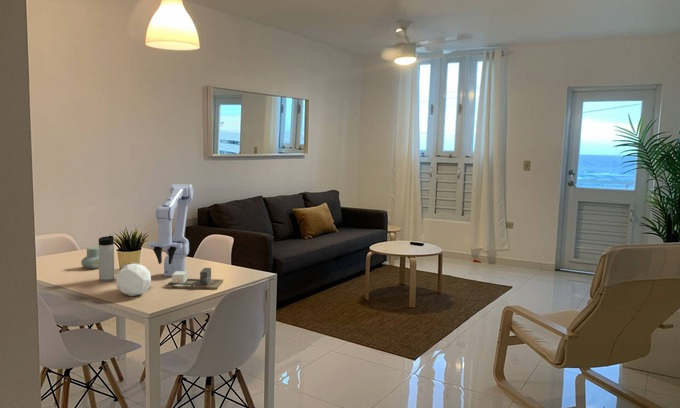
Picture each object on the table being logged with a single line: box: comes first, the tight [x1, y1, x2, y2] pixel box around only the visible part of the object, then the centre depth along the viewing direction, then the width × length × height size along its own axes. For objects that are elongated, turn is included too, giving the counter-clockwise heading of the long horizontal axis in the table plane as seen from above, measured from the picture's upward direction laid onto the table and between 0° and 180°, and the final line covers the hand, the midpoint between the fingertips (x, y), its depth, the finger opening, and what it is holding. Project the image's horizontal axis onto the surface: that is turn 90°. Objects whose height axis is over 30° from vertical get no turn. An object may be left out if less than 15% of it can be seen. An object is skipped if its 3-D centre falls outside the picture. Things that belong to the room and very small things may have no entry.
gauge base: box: [165, 267, 224, 290], centre depth 228 cm, size 22×13×7 cm, turn 91°
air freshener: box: [80, 246, 99, 270], centre depth 252 cm, size 11×8×10 cm
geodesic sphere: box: [115, 261, 152, 297], centre depth 210 cm, size 14×14×14 cm
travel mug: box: [98, 235, 115, 283], centre depth 230 cm, size 6×7×20 cm
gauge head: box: [171, 270, 188, 283], centre depth 226 cm, size 5×9×4 cm, turn 1°
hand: (165, 263), depth 227 cm, fingers open, 4 cm apart
